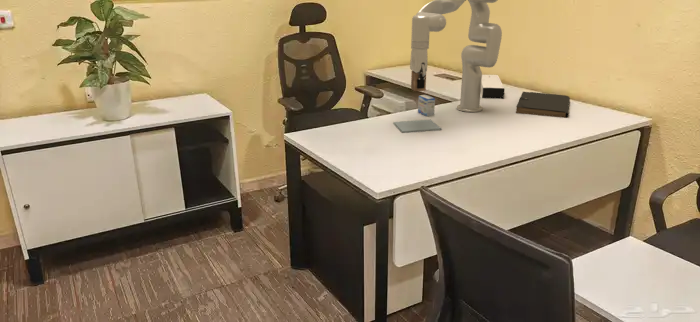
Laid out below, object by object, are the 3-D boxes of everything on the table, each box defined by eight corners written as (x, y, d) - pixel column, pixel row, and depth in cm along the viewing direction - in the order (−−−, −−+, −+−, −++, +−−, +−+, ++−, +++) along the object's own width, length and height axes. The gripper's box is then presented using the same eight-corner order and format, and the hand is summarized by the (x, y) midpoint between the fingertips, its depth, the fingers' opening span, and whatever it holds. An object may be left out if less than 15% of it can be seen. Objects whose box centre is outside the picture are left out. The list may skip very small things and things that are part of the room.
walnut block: (411, 88, 236) (411, 70, 233) (421, 88, 237) (422, 70, 234) (414, 91, 231) (415, 73, 228) (425, 90, 232) (426, 72, 229)
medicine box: (417, 112, 262) (418, 95, 259) (425, 111, 264) (425, 94, 261) (426, 116, 255) (427, 99, 252) (434, 115, 257) (435, 97, 254)
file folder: (522, 90, 287) (570, 95, 278) (521, 98, 288) (569, 102, 280) (515, 105, 258) (569, 111, 250) (514, 114, 260) (567, 119, 251)
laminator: (478, 84, 318) (478, 74, 316) (499, 85, 316) (500, 74, 314) (482, 99, 287) (483, 87, 285) (505, 99, 285) (506, 88, 283)
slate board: (393, 123, 245) (393, 122, 245) (430, 121, 248) (430, 119, 248) (402, 132, 232) (402, 131, 232) (441, 130, 235) (441, 128, 235)
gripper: (405, 42, 234) (404, 83, 241) (418, 48, 218) (416, 91, 225) (421, 41, 235) (420, 82, 242) (435, 47, 220) (433, 90, 226)
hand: (418, 86), depth 233 cm, fingers closed on walnut block, 5 cm apart
